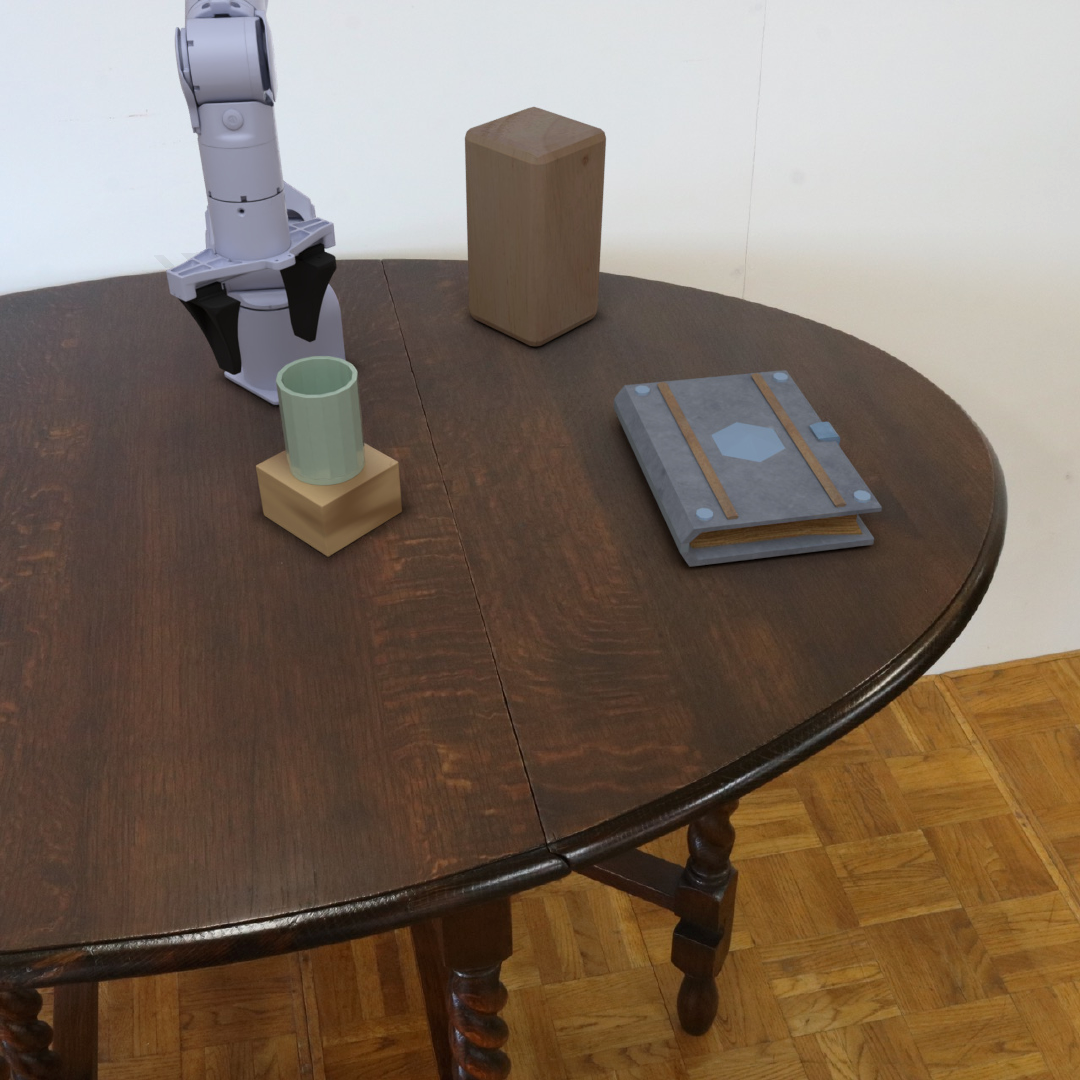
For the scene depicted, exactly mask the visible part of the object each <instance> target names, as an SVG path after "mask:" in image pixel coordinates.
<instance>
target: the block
mask: <svg viewBox="0 0 1080 1080" xmlns="http://www.w3.org/2000/svg"><path fill="white" fill-rule="evenodd" d="M364 445H365V465H364V468H363V469H362V471H361V472H360V473H359V474H358V475H356V476H355V477H354V478H352V479H350V480H348V481H345V482H342V483H339V484H334V485H312V484H308V483H304V482H302V481H300V480H298V479H296V478H295V477H294V476H293V475H292V474H291V472H290V470H289V464H288V462H287V455H286V449H284V450H282V451H281V452H279V453H277V454H275V455H272V456H271V457H269V458H267V459H265V460H264V461H262V462H260V463H258V464H256V465H255V470H256V477H257V483H258V488H259V494H260V495H259V496H260V500H261V506H262V512H263V516H264V517H266V518H267V519H269V520H270V521H271V522H273V523H274V524H276V525H277V526H280V527H281V528H282V529H284V530H286V531H287V532H289V533H290V534H292V535H293V536H295V537H297V538H298V539H300V540H301V541H302V542H304V543H305V544H308V545H309V546H311V547H312V548H313V549H315V550H317V552H319V553H321V554H322V555H324V556H326V557H327V558H328V557H331V556H332V555H334V554H335V553H337V552H339V551H341V550H342V549H344V548H345V547H347V546H349V545H350V544H352V543H353V542H355V541H356V540H359V539H360V538H361V537H363V536H365V535H366V534H368V533H370V532H371V531H373V530H375V529H376V528H378V527H379V526H381V525H383V524H384V523H386V522H388V521H389V520H391V519H392V518H394V517H396V516H397V515H399V514H401V513H402V512H403V506H402V490H401V477H400V463H399V461H398V460H396V459H394V458H392V457H390V456H388V455H387V454H385V453H383V452H381V451H380V450H378V449H376V448H374V447H372V446H371V445H369V444H367V443H366V442H364Z"/></svg>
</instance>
